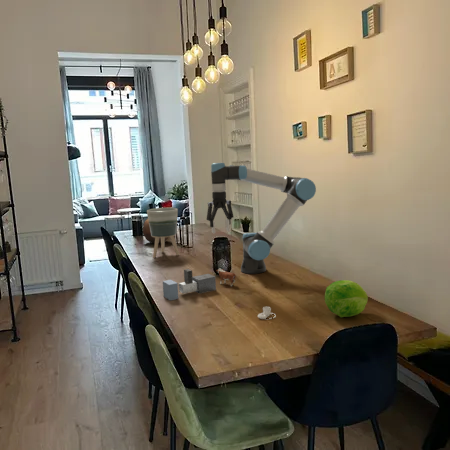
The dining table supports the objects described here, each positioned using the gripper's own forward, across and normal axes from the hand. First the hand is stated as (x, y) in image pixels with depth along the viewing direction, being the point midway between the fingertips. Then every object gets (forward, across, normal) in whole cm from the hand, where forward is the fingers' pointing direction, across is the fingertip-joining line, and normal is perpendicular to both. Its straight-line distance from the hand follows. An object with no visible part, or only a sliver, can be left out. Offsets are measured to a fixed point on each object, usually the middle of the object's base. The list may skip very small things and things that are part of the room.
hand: (220, 231), depth 245 cm
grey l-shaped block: (+26, +23, +11) cm, 36 cm away
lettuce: (+28, -14, +81) cm, 86 cm away
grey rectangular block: (+27, +18, +11) cm, 35 cm away
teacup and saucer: (+28, +16, +59) cm, 67 cm away
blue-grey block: (+27, +37, +11) cm, 48 cm away
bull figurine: (+28, +4, +9) cm, 29 cm away
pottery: (+28, -13, -126) cm, 130 cm away
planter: (+28, +1, -80) cm, 85 cm away
